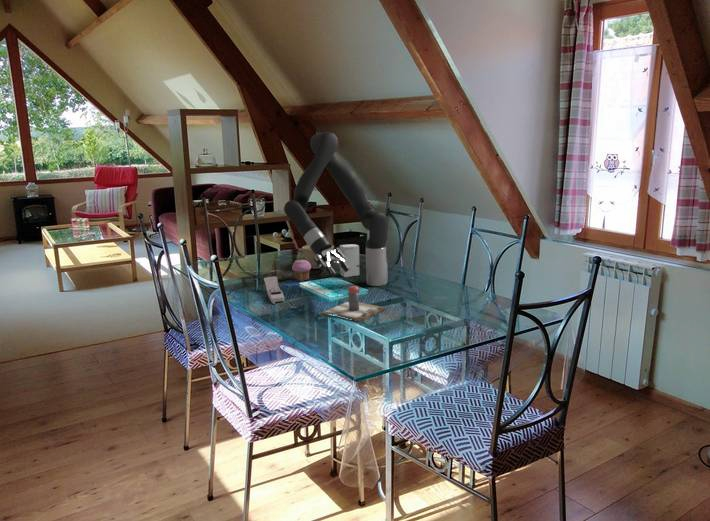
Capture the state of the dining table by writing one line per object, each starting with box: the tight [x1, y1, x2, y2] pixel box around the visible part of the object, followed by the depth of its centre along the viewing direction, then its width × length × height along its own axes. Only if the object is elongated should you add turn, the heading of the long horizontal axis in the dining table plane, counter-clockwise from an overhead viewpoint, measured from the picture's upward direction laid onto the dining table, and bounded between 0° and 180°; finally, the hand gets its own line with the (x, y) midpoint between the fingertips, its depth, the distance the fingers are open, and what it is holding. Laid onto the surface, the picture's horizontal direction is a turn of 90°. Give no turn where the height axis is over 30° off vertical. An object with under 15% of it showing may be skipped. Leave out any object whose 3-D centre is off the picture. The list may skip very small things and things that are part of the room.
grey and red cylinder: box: [347, 285, 360, 311], centre depth 230 cm, size 4×4×9 cm
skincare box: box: [339, 243, 360, 278], centre depth 285 cm, size 8×6×15 cm
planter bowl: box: [301, 244, 335, 270], centre depth 304 cm, size 16×16×11 cm
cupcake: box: [291, 259, 312, 282], centre depth 279 cm, size 9×9×10 cm
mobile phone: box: [263, 275, 285, 305], centre depth 255 cm, size 6×6×25 cm
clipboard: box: [321, 300, 387, 323], centre depth 231 cm, size 18×18×2 cm
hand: (341, 273), depth 232 cm, fingers open, 8 cm apart
